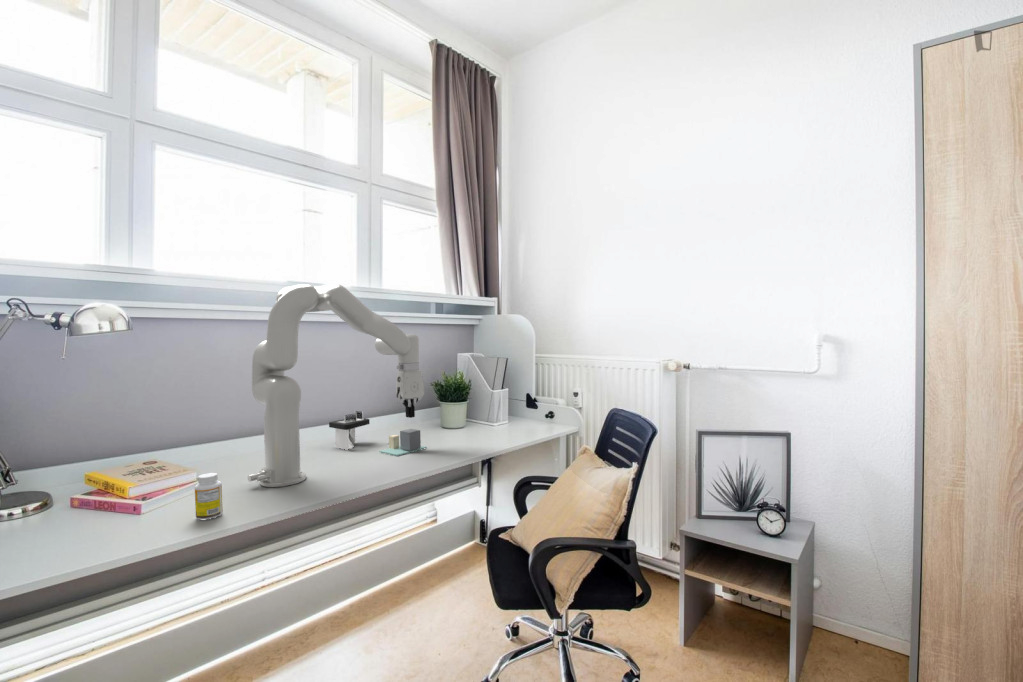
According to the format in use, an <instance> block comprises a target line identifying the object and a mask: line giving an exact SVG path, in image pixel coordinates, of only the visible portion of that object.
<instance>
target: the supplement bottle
mask: <svg viewBox="0 0 1023 682" xmlns="http://www.w3.org/2000/svg"><path fill="white" fill-rule="evenodd" d="M197 477H198V478H197V484H196V485H195V486H194V502H195V503H194V505H195V506H194V507H195V518H196V520H198V519H210V518H214V519H216V518H215V517H217V516H219V517H220V516H221V515H223V513H224V512H223V511H224V510H223V489H222V488H223V487H222V485H223V484H222V481H220V480H218V478H219V477H218V473H217V472H208V473H203V474H200V475H198V476H197ZM217 518H218V517H217ZM210 520H211V519H210Z"/></svg>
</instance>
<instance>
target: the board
mask: <svg viewBox="0 0 1023 682" xmlns="http://www.w3.org/2000/svg"><path fill="white" fill-rule="evenodd" d="M424 448H426V449H427V448H428V447H427V446H424V445H421V448H418V449H415V450H411V451H409V450H404V449H400V435H397V434H392V435H388V448H385V449H382V450H379V452H381V453H380V454H384V453H386V454H385V455H388V454H390V456H393V455H395V456H394V457H400V456H399V455H401V456H403V454H404V455H407V453H408V454H411V453H410V452H412V453H415V452H418V451H417V450H419V451H422V450H421V449H423V450H425V449H424ZM414 451H415V452H414Z"/></svg>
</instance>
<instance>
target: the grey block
mask: <svg viewBox="0 0 1023 682" xmlns="http://www.w3.org/2000/svg"><path fill="white" fill-rule="evenodd" d="M399 434H400V435H399V446H400V449H404V450H409V451H411V450H415V449H418V448H421V446H422V445H421V444H422V443H421V441H422V440H421V430H420V429H417V428H416V429H415V428H408V429H404V430H400V431H399Z"/></svg>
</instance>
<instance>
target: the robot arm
mask: <svg viewBox="0 0 1023 682" xmlns="http://www.w3.org/2000/svg"><path fill="white" fill-rule="evenodd" d="M275 300H276V301H275V303H274V304H273V306H272V308H271V310H270V312H269V315H268V319H267V326H266V327H267V329H266V340H263V341H261V342H260V343H258V345H256V347H255V349H254V351H253V354H252V365H251V366H252V367H251V392H252V396H253V398H254V399H255V400H256V401H257V403H260V404H261V405H263V406H264V405H265V411H264V417H263V432H264V434H263V435H264V437H263V438H264V466H265V467H261V471H260V470H259V472H258V473H252V474H248V476H247V480H248V482H254V481H257V482H259V485H260V486H262V487H266V488H278V487H280V488H281V487H287V486H291V485H296V484H299V483H301V482H303V481H305V480H306V479H307V474H306V472H304V471H301V446H300V445H301V444H300V441H301V440H300V438H301V437H300V407H301V401H302V400H301V399H302V391H301V390H302V389H301V386H300V385H299V383H298V382H297V381H296V379H294V378H292V377H290V376H287V375H285V371H286V372H287V371H289V370H292V369H293V368H294V367H295V366H296V364H297V362H298V359H299V356H298V354H299V353H298V352H299V351H298V350H299V328H300V323H301V320H302V318H303V317H304V315H306V313H314V312H317V313H318V312H325V311H326V312H327V311H329V312H330V311H331V312H332V313H334V314H335V315H336V316H338V317H339V318H340V319H341V320H342V321H343V322H344V323H346V325H348V326H349V327H350V328H352V329H353V330H355V331H357V332H360V333H362V334H365V335H369V336H372V337H373V338H376V339H375V342H374V348H375V350H376V351H377V352H378V353H379V354H381V355H385V356H398V357H397V362H398V365H397V366H396V369H397V370H398V371H397V373H396V381H395V396H396V398H397V403H400V404H402V405H403V406H404V407H405V418H415V417H416V413H415V412H416V411H415V410H416V409H415V407H416V406H417V403H418V401H421V400H422V399H423V397H424V396H425V388H424V386H425V385H424V378H423V373H422V371H421V370H420V350H419V349H420V348H419V347H420V345H419V344H420V343H419V341H420V340H419V339H420V338H419V336H418V335H417V334H416V333H415V334H414V333H410V334H409V333H407V334H406V333H405V332H404V331H402V329H401V328H399V327H398V326H397V325H396V324H395V323H393V322H392V321H391V320H389V319H387V318H384V317H383V316H381V315H380V314H378V313H376V312H374V311H372V309H370V308H368V307H367V306H366V305H365V304H364V303H363V302H362V301H361V300H360V299H358V297H356V296H355V294H353V293H352V292H351V291H350V290H348V289H347V288H346V287H345V286H343V285H342V284H338V283H332V284H331V283H330V284H325V285H318V286H313V285H311V284H307V283H301V284H294V285H290V286H285V287H284V288H282V289H280V290H279V292H278V293H277V295H276V299H275Z"/></svg>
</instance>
